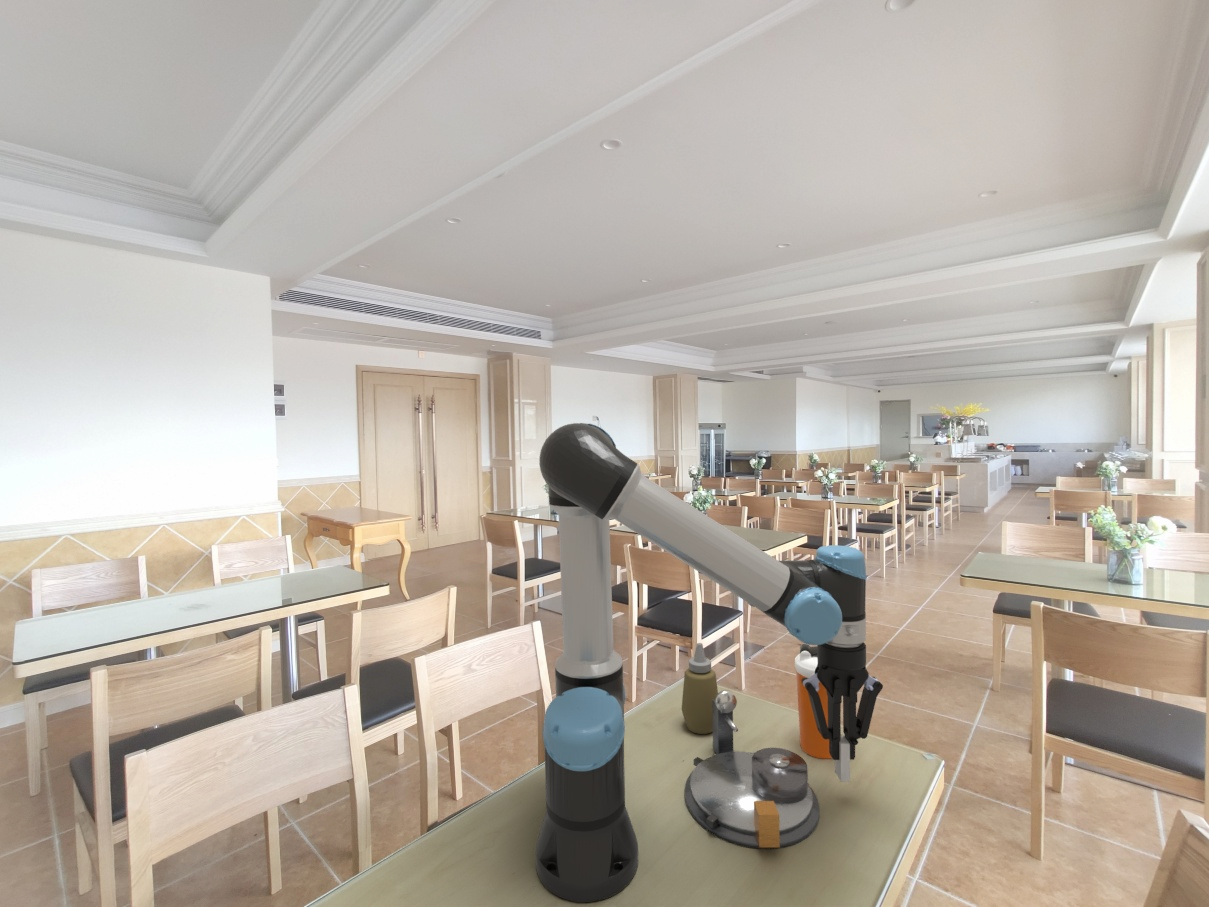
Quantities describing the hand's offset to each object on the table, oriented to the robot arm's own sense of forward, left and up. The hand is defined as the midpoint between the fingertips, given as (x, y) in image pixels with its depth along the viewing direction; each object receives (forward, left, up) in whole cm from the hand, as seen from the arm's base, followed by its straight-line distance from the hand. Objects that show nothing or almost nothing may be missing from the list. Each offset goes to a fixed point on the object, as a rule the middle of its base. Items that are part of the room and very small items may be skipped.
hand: (842, 776), depth 94 cm
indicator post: (-17, +12, -4) cm, 21 cm away
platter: (-16, -1, -3) cm, 16 cm away
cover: (-11, 0, -2) cm, 11 cm away
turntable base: (-16, 0, -4) cm, 16 cm away
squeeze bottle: (-21, +23, -4) cm, 31 cm away
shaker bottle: (+1, +15, -4) cm, 16 cm away
